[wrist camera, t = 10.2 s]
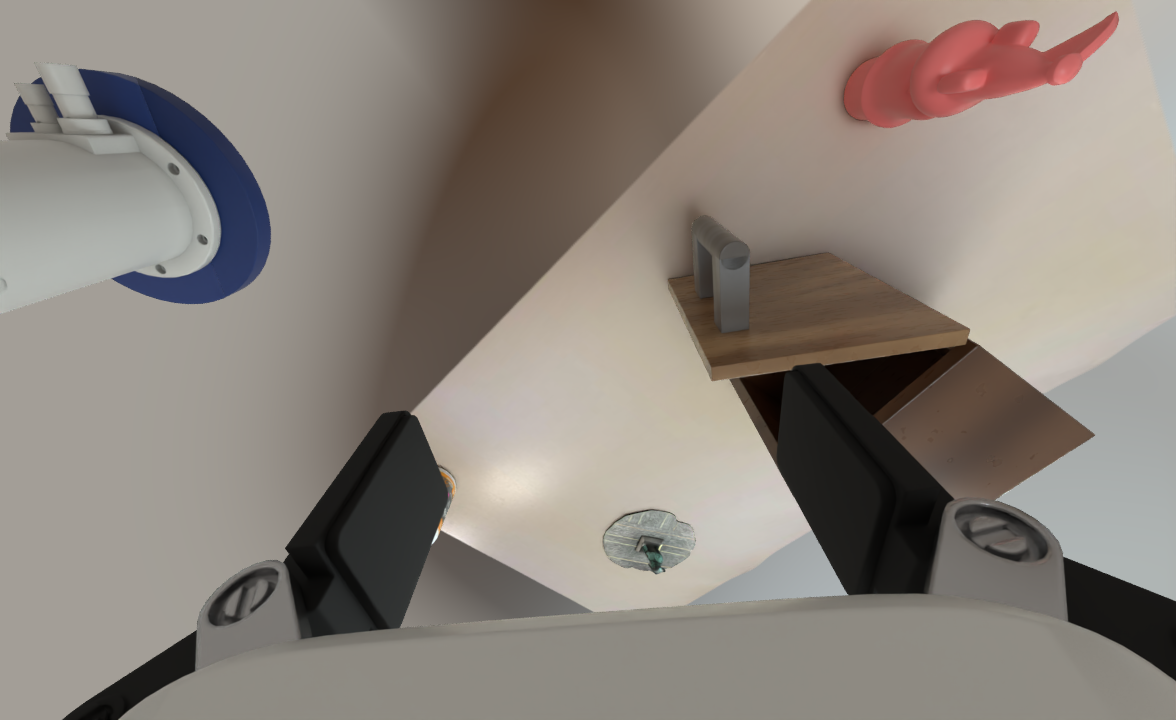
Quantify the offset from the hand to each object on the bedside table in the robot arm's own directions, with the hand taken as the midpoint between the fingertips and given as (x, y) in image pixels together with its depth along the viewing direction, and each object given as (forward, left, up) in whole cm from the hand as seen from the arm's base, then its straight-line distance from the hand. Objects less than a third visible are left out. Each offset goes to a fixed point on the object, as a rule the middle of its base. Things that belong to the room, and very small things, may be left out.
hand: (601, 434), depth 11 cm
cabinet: (+12, +23, -28) cm, 38 cm away
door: (+1, +13, -28) cm, 31 cm away
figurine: (-10, +20, -28) cm, 36 cm away
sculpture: (+41, +9, -28) cm, 51 cm away
